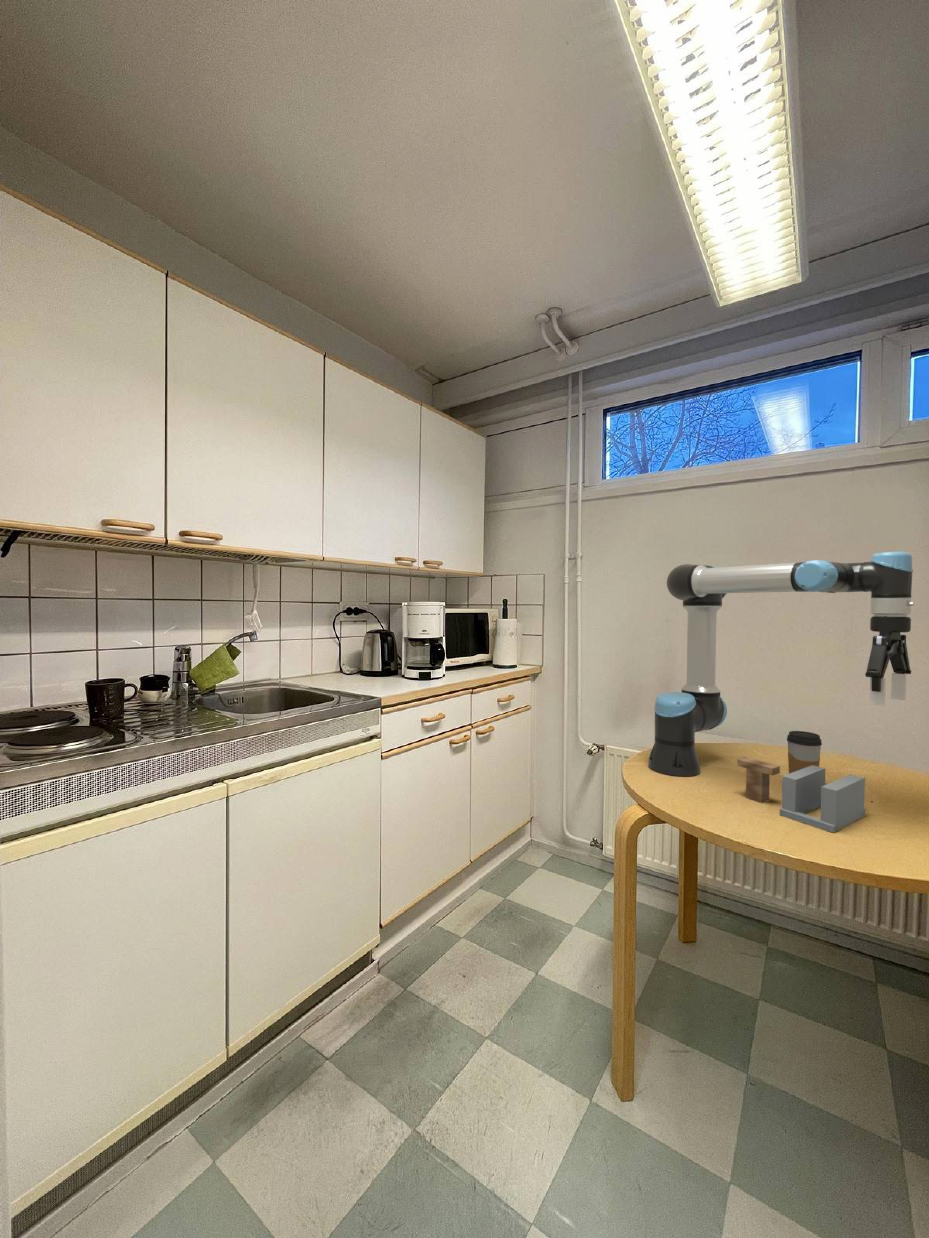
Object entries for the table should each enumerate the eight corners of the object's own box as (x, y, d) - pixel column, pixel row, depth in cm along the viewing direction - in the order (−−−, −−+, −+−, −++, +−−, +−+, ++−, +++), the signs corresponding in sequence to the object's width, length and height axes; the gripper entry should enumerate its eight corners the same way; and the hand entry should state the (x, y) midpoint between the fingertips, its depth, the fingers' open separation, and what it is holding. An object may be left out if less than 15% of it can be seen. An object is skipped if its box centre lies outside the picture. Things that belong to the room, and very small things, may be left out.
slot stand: (779, 815, 122) (780, 776, 122) (813, 799, 132) (814, 764, 132) (833, 833, 113) (834, 791, 112) (865, 815, 122) (866, 777, 122)
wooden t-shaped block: (736, 794, 135) (737, 759, 135) (744, 792, 137) (745, 756, 137) (771, 806, 128) (772, 768, 127) (779, 803, 130) (780, 765, 129)
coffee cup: (826, 792, 137) (828, 738, 137) (793, 790, 139) (794, 737, 138) (812, 782, 145) (813, 731, 145) (780, 779, 147) (781, 729, 147)
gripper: (890, 616, 111) (887, 710, 112) (928, 615, 125) (925, 699, 125) (850, 615, 118) (848, 704, 118) (890, 615, 131) (888, 694, 132)
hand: (888, 702), depth 122 cm, fingers open, 13 cm apart
